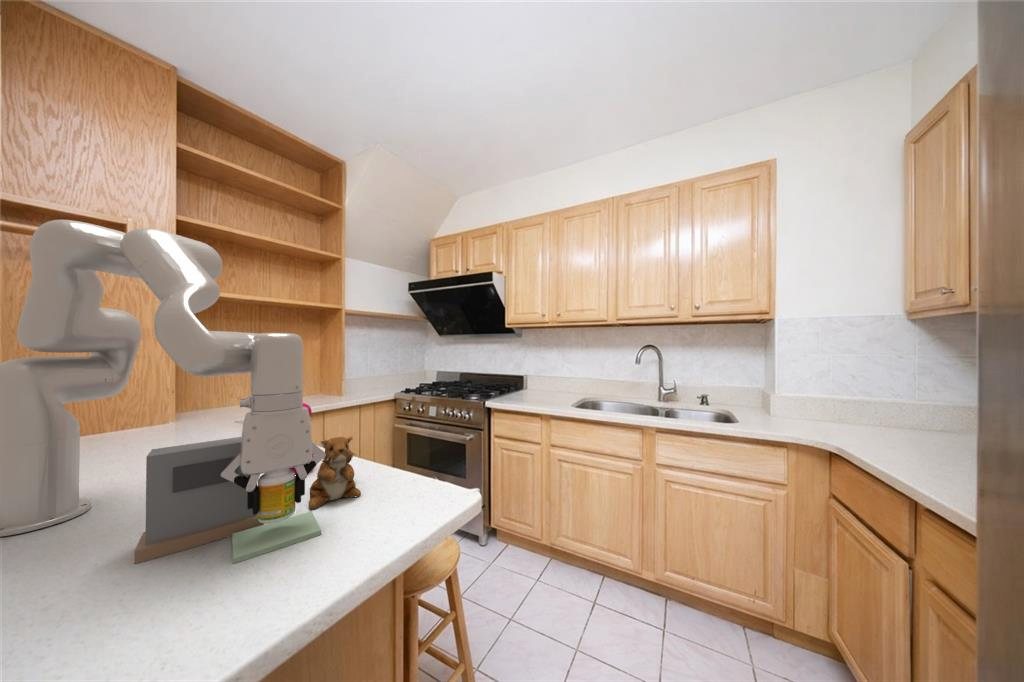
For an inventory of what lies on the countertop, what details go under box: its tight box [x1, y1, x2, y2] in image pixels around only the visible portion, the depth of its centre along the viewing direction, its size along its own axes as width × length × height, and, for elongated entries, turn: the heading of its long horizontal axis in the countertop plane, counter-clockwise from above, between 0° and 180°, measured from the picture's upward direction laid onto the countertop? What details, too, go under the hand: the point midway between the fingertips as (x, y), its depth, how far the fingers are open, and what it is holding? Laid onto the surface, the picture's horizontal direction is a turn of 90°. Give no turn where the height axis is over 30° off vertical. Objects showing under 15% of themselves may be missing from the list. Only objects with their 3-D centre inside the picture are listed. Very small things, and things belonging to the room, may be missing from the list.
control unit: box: [133, 436, 265, 565], centre depth 59 cm, size 16×7×16 cm, turn 131°
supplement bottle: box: [257, 468, 296, 525], centre depth 58 cm, size 5×5×10 cm
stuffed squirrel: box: [308, 435, 362, 510], centre depth 75 cm, size 10×14×13 cm
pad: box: [231, 510, 322, 565], centre depth 58 cm, size 12×9×1 cm
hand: (277, 504), depth 58 cm, fingers closed on supplement bottle, 5 cm apart
